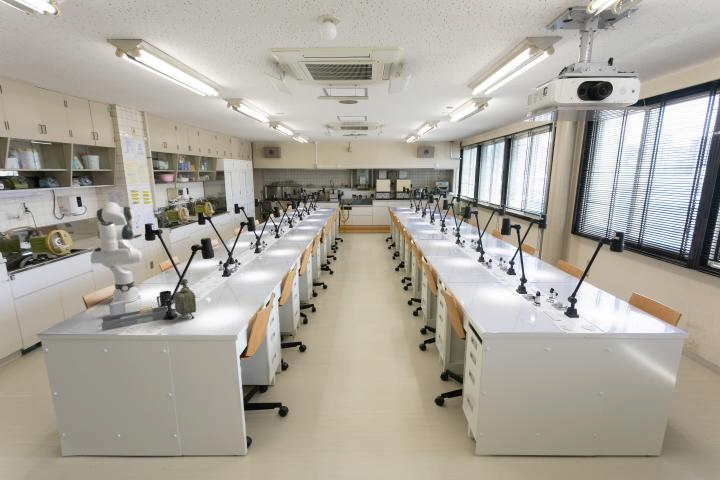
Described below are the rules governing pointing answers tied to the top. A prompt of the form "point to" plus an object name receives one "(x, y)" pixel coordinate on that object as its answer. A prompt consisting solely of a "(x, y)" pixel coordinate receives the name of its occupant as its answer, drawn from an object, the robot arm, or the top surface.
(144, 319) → the trap lane
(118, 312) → the medicine box
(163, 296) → the black mug
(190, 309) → the olive backpack
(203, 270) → the top surface
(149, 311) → the maple block
